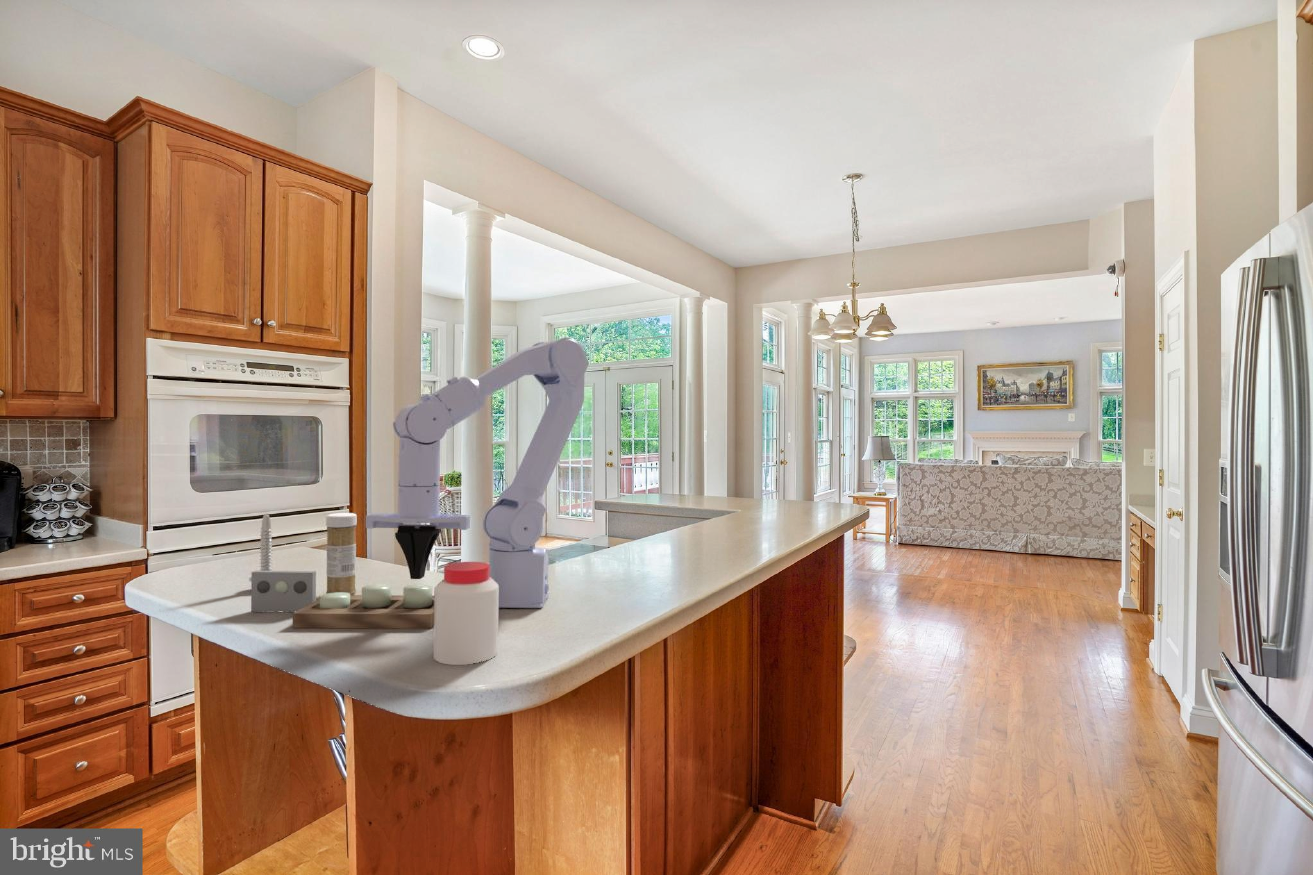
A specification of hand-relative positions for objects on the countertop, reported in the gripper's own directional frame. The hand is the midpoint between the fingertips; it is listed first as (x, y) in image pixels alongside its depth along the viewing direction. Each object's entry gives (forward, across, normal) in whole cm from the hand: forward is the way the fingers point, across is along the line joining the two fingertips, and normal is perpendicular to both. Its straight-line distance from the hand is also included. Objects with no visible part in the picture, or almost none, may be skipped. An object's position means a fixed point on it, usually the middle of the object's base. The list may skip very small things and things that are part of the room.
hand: (417, 577), depth 94 cm
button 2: (+4, 0, 0) cm, 4 cm away
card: (+6, -21, +3) cm, 22 cm away
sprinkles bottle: (+6, -17, +13) cm, 22 cm away
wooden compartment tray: (+6, -6, 0) cm, 8 cm away
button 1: (+5, -12, 0) cm, 13 cm away
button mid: (+4, -6, 0) cm, 7 cm away
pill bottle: (+6, +11, -15) cm, 20 cm away
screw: (+6, -31, +16) cm, 35 cm away
